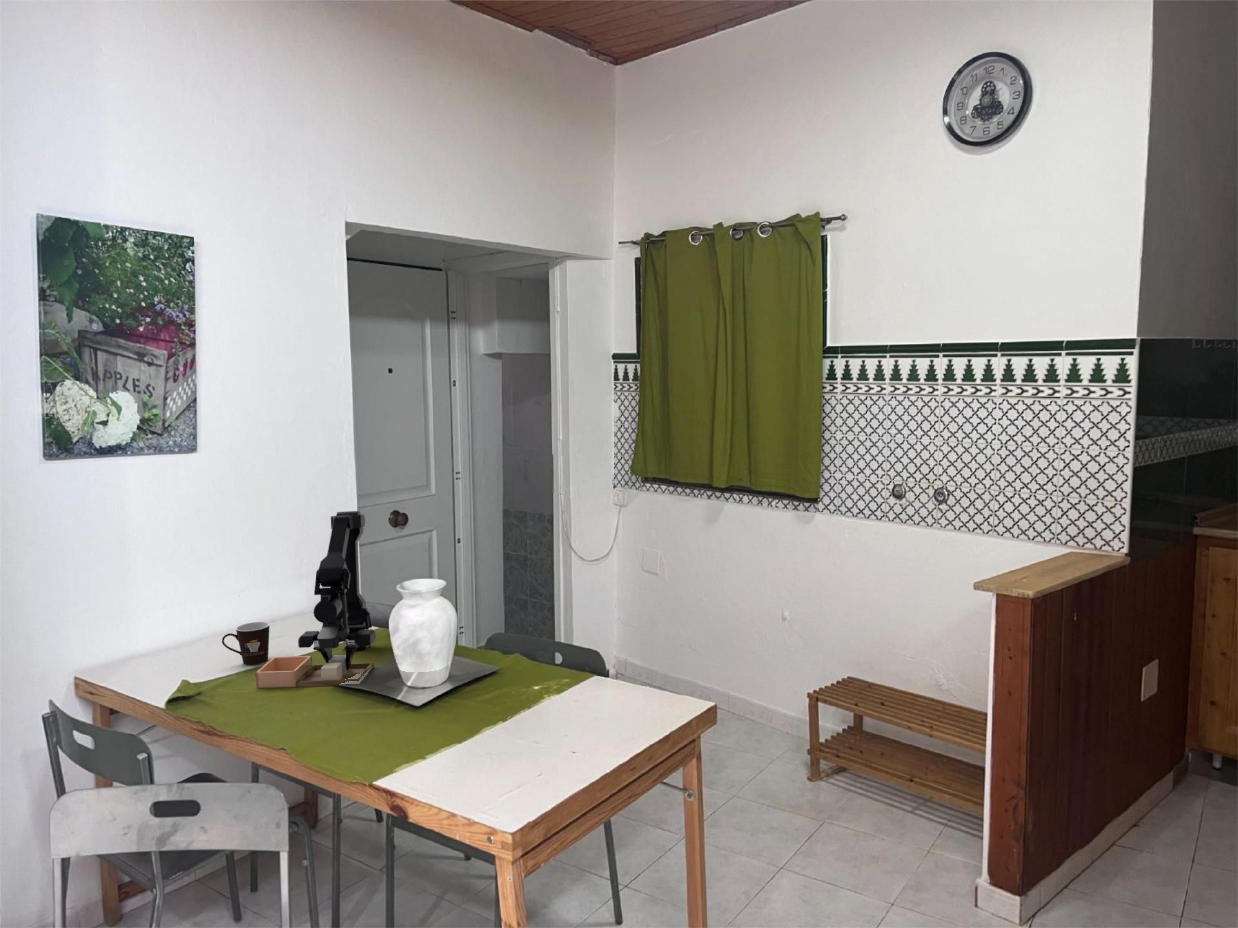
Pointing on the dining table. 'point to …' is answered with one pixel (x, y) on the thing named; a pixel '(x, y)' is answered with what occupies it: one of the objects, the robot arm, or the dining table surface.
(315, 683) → the parts tray
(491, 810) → the dining table surface
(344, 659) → the pale grey matte cube
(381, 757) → the dining table surface
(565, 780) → the dining table surface
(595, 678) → the dining table surface
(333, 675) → the beige cube
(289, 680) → the pink storage bin
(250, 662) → the coffee mug
